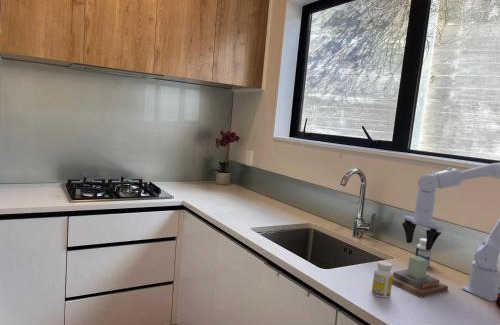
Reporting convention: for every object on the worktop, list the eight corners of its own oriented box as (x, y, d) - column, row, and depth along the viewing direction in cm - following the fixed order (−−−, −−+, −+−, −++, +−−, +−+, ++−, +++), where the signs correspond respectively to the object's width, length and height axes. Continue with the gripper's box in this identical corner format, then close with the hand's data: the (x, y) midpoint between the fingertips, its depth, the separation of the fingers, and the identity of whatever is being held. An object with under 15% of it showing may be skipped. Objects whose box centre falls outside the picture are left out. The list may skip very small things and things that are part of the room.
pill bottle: (416, 260, 151) (420, 236, 150) (430, 264, 147) (434, 240, 146) (412, 263, 147) (416, 239, 146) (427, 268, 143) (431, 243, 142)
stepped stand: (447, 290, 124) (448, 281, 123) (420, 297, 116) (422, 287, 116) (410, 273, 136) (411, 265, 135) (383, 278, 128) (384, 270, 128)
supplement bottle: (386, 291, 119) (390, 260, 117) (393, 299, 113) (397, 267, 112) (368, 289, 118) (373, 259, 117) (375, 297, 113) (379, 266, 112)
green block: (425, 277, 125) (428, 259, 124) (418, 279, 123) (420, 261, 122) (414, 272, 128) (417, 255, 128) (407, 274, 126) (409, 256, 126)
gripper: (399, 203, 137) (393, 240, 138) (436, 214, 124) (430, 254, 126) (411, 203, 140) (406, 239, 142) (449, 213, 128) (443, 252, 130)
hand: (418, 246), depth 134 cm, fingers open, 7 cm apart
